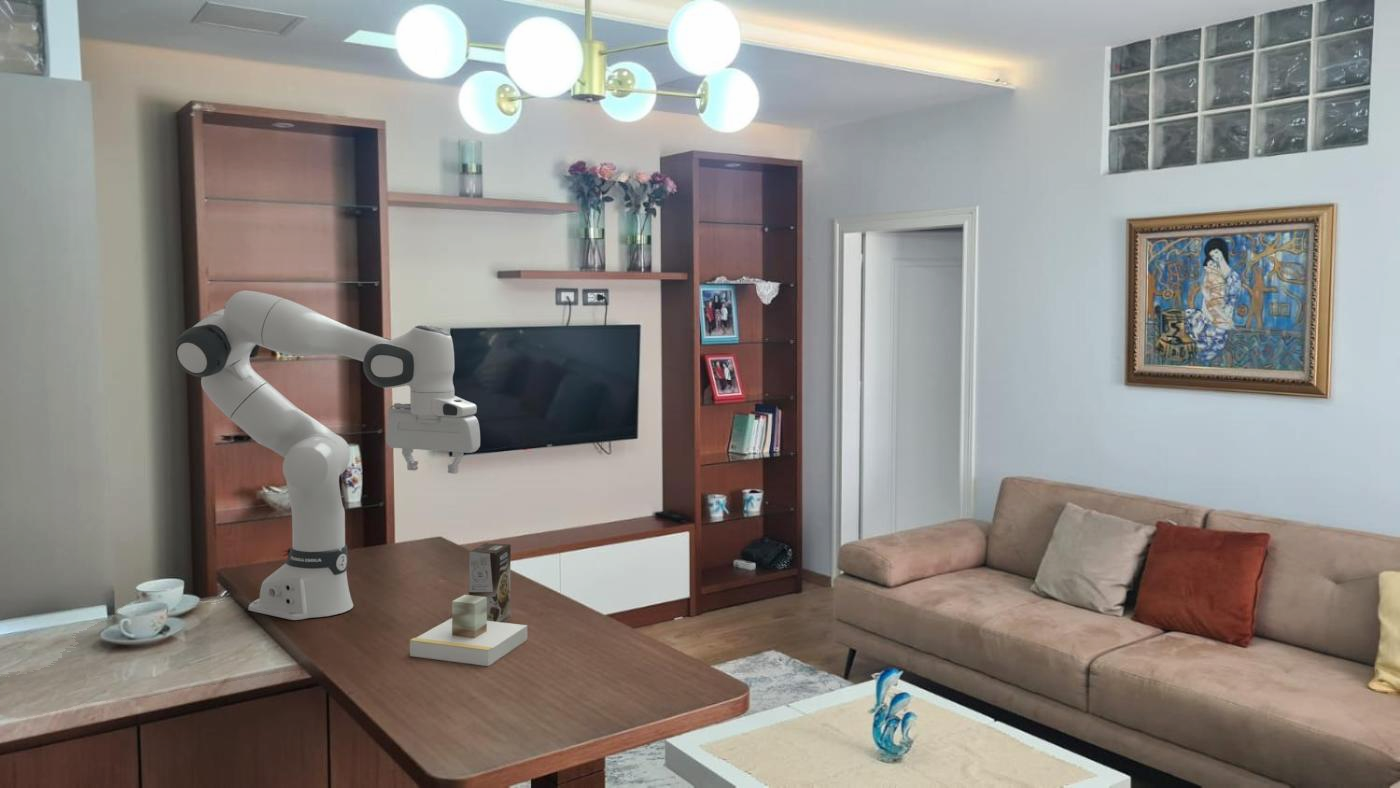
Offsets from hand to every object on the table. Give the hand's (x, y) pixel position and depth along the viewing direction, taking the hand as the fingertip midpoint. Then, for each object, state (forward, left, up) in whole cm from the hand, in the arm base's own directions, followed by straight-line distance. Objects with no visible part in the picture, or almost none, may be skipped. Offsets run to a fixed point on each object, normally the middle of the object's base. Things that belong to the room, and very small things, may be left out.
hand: (432, 471), depth 222 cm
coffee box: (+7, +12, -34) cm, 37 cm away
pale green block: (+12, -6, -31) cm, 34 cm away
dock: (+12, -6, -34) cm, 37 cm away
